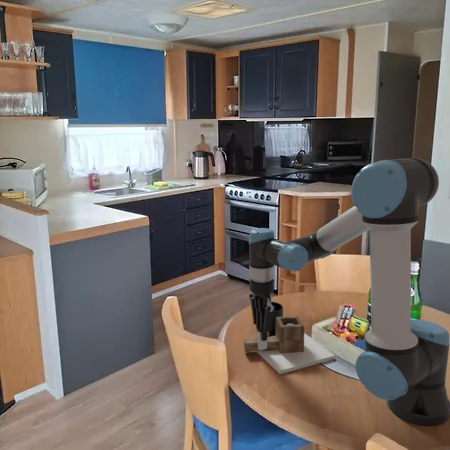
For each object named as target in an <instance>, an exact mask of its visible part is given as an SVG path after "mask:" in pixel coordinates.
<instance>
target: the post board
mask: <svg viewBox="0 0 450 450" xmlns="http://www.w3.org/2000/svg"><path fill="white" fill-rule="evenodd" d="M286 325H295V324H291V323H290V324H286ZM270 337H276V335H270V336H269V338H270ZM255 353H257V354H258V355H259V356H260V357H261V358H262V359H263V360H265V362H267V363H268V364H269V365H270V366H271V367H272V368H273V369H274V370H275V371H276V372H277V373H278V374H279V375H282V374H286V373H290V372H292V371H297V370H300V369H304V368H307V367H310V366H314V365H319V364H321V363H325V362H329V361H331V360H332V359H333V360H335V359H336V355H335V354H334V353H332V352H331V351H330V350H328V349H327V348H325V346H323V345H321V344H320V343H319V342H318V341H316V340H315V341H314V339H313V338H312V337H310V336H309V335H308V334H306V333H305V332H304V352H295V353H280V351H279V350H270V351H255ZM328 360H329V361H328Z"/></svg>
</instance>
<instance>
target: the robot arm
mask: <svg viewBox="0 0 450 450" xmlns="http://www.w3.org/2000/svg"><path fill="white" fill-rule="evenodd" d="M439 180H440V179H439V174H438V172H437V169H436V168H435V167H434V166H433V165H432V164H431V163H430V162H429V161H427V160H425V159H423V158H419V157H414V156H413V157H405V158H397V159H383V160H379V161H376V162H371V163H369V164H367V165H365V166H364V167H363V168H361V169H360V170H359V172H358V173H356V175H355V176H354V178H353V181H352V185H351V189H350V190H351V191H350V196H351V200H352V204H353V206H352V207H350V208H349V209H347V210H346V211H344V212H342V213H341V214H340V215H338V216H337V217H336V218H334V219H332V220H331V221H329V222H328V223H326V224H325V225H323V226H322V227H319V229H317V230H316V231H315V232H313V233H312V234H310V235H307V236H303V237H298V238H295V239H291V240H280V239H277V238H275V236H276V235H275V232H274V230H273V229H271V228H267V227H259V228H253V229H251V230H250V232H249V238H248V239H249V240H248V248H249V249H248V252H249V253H248V254H249V255H248V256H249V257H248V258H249V266H248V267H249V269H248V270H249V278H250V279H249V291H250V292H251V293H250V294H249V295H248V296H249V300H250V304H251V305H250V306H251V314H252V321H253V325H255V327H256V333H257V338H258V349H259V350H263V349H267V332H268V331H271V329H272V322H273V316H274V311H275V309H276V306H275V305H273V306H272V304H271V302H272V296H271V295H272V293H273V292H274V290H275V279H274V277H275V266H276V267H278V268H281V269H283V270H285V271H292V272H300V271H302V270H303V268H304V267H306V265H307V263H310V262H312V261H316V260H319V259H324V258H326V257H330V256H331V255H332V254H333V253H334V252H335V250H337V249H338V248H340V247H343V245H346V244H347V243H350V242H351V241H352V240H354V239H356V238H358V237H359V236H361V235H363V234H364V233H366V232H368V231H369V265H370V269H369V270H370V271H369V273H370V280H369V281H370V317H371V318H370V319H371V320H370V322H371V328H370V329H369V330H368V331H366V332H365V335H364V351H363V352H361V353H360V354H359V356H358V357H356V361H355V371H356V372H355V373H356V374H357V377H358V379H359V381H360V383H361V384H362V385H363V386H364V388H365V389H366V390H367V391H368V392H369V393H370V394H372V395H373V396H375V397H376V398H379V399H381V400H384V401H386V405H387V407H388V408H389V410H390V411H391V412H392V413H393V414H395V415H396V416H397V417H398V418H401V419H402V420H404V421H407V422H409V423H412V424H416V425H420V426H421V425H422V426H438V425H439V426H440V425H442V424H443V423H446V422H447V421H448V420H449V418H450V400H449V398H448V392H447V387H446V377H447V368H448V360H449V351H450V333H449V332H448V331H447V329H446V328H445V327H443V326H441V325H439V324H437V323H434V322H431V321H429V320H428V321H427V320H424V319H415V318H412V315H411V314H412V288H411V287H412V282H411V279H412V276H411V274H412V271H411V270H412V261H411V257H412V254H411V253H412V252H411V251H412V248H411V247H412V246H411V243H412V242H411V239H412V238H411V237H412V236H411V234H412V233H411V232H412V231H411V230H412V228H413V227H414V226H415V225H417V224H418V223H419V207H422V206H425V205H427V204H428V203H430V202H431V201H432V200H433V199H434V197H435V196H436V194H437V192H438V190H439V186H440V181H439Z"/></svg>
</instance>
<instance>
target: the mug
mask: <svg viewBox="0 0 450 450" xmlns="http://www.w3.org/2000/svg"><path fill="white" fill-rule="evenodd" d="M271 304H272V306H273V305H275V306H276V309H275V311H274V316H273V322H272V329H271V331H268V332H269V336H275V335H276V317H284V306H283V304H281V303H280V302H278V301H277V302H276V301H271Z"/></svg>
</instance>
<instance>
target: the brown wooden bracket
mask: <svg viewBox="0 0 450 450" xmlns="http://www.w3.org/2000/svg"><path fill="white" fill-rule="evenodd" d="M290 323H291V324H295V325H286V324H290ZM304 333H305V324H304V323H303V322H302V319H301V318H300V317H299V315H293V316H292V315H290V316H283V317H276V337H271V336H269V337H270V338H267V349H263V350H259V349H258V337H255V338H244V339H243V348H244V352H245V353H252V352H253V353H254V352H256V351H270V350H279V351H280V353H295V352H304Z"/></svg>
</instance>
